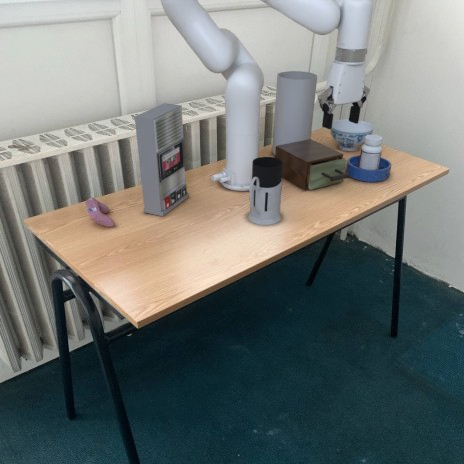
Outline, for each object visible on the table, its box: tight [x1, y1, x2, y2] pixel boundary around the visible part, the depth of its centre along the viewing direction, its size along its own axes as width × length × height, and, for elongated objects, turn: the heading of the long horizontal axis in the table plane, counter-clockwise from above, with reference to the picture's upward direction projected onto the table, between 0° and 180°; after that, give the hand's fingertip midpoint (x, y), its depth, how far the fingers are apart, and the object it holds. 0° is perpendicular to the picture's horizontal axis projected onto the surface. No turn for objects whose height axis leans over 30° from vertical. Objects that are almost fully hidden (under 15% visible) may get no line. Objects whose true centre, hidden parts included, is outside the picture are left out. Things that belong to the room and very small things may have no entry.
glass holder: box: [247, 156, 283, 226], centre depth 122 cm, size 9×14×15 cm, turn 154°
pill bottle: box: [358, 134, 384, 170], centre depth 149 cm, size 6×6×11 cm
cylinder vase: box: [272, 70, 318, 156], centre depth 160 cm, size 12×12×25 cm
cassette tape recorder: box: [134, 102, 189, 217], centre depth 126 cm, size 14×6×25 cm, turn 155°
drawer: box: [307, 157, 350, 190], centre depth 145 cm, size 20×12×7 cm, turn 31°
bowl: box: [345, 154, 393, 183], centre depth 152 cm, size 13×13×4 cm
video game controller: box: [84, 197, 115, 228], centre depth 124 cm, size 10×5×7 cm, turn 21°
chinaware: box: [329, 118, 375, 152], centre depth 171 cm, size 15×15×8 cm
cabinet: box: [274, 138, 344, 191], centre depth 148 cm, size 16×14×9 cm
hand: (340, 125), depth 133 cm, fingers open, 9 cm apart
